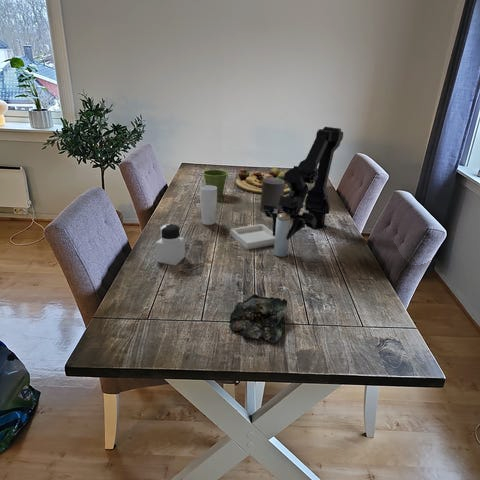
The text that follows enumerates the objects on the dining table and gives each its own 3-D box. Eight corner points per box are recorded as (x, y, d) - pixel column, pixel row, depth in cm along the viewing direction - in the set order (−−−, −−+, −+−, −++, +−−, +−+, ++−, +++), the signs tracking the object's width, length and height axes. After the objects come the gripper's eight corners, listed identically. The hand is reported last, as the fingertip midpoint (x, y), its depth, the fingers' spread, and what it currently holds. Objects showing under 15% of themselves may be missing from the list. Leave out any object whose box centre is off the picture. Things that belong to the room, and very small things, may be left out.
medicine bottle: (185, 257, 143) (184, 224, 138) (175, 266, 137) (174, 231, 132) (166, 253, 145) (165, 220, 140) (156, 262, 139) (154, 228, 134)
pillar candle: (257, 211, 186) (259, 178, 180) (264, 205, 194) (266, 173, 188) (278, 215, 183) (281, 182, 177) (284, 208, 191) (288, 176, 185)
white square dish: (261, 229, 168) (262, 223, 166) (280, 243, 156) (281, 237, 155) (229, 235, 162) (230, 229, 161) (246, 249, 150) (247, 243, 149)
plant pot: (232, 194, 206) (232, 172, 202) (218, 200, 197) (218, 177, 193) (212, 190, 212) (212, 167, 207) (197, 195, 203) (197, 172, 198)
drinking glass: (214, 227, 168) (214, 190, 162) (197, 225, 169) (197, 189, 163) (218, 221, 174) (219, 185, 168) (202, 219, 175) (202, 184, 169)
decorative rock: (293, 333, 101) (230, 328, 100) (289, 352, 104) (228, 348, 103) (284, 287, 117) (231, 283, 116) (281, 305, 120) (228, 301, 119)
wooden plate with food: (223, 186, 219) (223, 171, 215) (256, 173, 243) (257, 159, 239) (276, 201, 203) (277, 185, 199) (306, 186, 227) (308, 171, 223)
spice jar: (282, 249, 150) (286, 212, 145) (290, 255, 147) (293, 216, 141) (271, 251, 148) (273, 213, 143) (278, 257, 144) (281, 218, 139)
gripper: (266, 181, 145) (248, 220, 141) (317, 191, 137) (300, 234, 133) (274, 197, 155) (258, 234, 150) (323, 207, 146) (307, 247, 142)
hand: (280, 237), depth 144 cm, fingers closed on spice jar, 5 cm apart
